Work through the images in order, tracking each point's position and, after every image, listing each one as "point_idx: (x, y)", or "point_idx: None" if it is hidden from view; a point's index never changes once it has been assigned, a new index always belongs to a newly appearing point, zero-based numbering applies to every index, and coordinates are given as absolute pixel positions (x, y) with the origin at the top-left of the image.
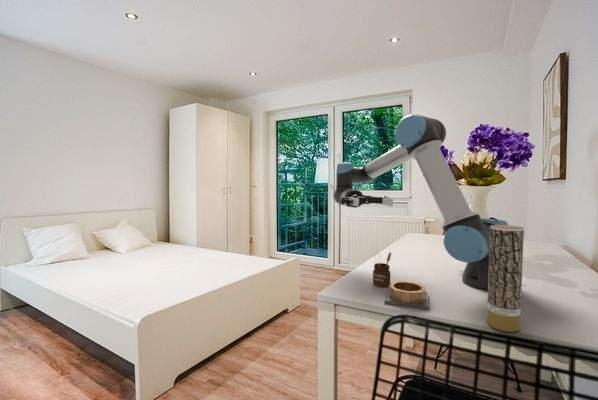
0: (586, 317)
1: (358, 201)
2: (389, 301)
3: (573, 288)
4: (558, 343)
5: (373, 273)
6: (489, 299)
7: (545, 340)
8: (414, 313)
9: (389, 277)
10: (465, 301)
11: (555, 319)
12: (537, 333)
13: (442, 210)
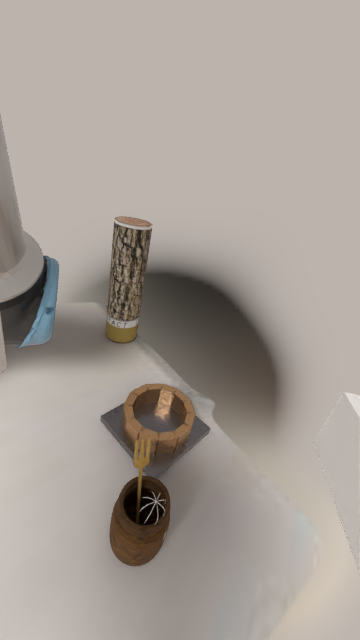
0: None
1: (337, 410)
2: (203, 423)
3: None
4: None
5: (167, 527)
6: (137, 314)
7: None
8: (186, 390)
9: (131, 492)
10: (72, 378)
11: None
12: (106, 320)
13: (11, 242)
